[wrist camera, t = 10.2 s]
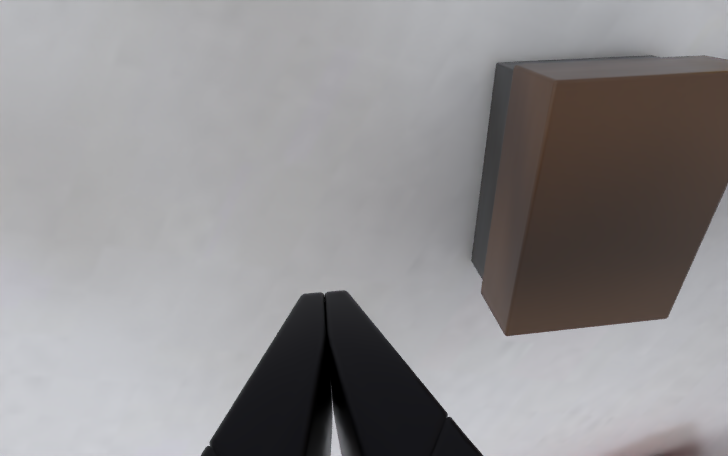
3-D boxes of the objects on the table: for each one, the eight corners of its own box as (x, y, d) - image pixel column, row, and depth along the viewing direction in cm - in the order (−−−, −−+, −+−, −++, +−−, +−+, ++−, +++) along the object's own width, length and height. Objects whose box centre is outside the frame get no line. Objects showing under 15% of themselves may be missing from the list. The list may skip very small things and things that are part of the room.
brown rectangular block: (489, 54, 11) (555, 80, 8) (660, 47, 12) (781, 68, 9) (464, 266, 15) (504, 337, 12) (597, 253, 15) (668, 319, 12)
